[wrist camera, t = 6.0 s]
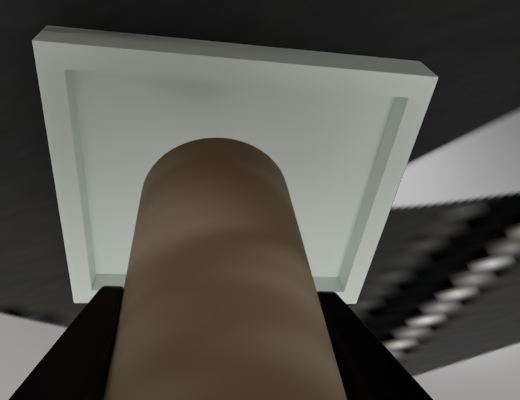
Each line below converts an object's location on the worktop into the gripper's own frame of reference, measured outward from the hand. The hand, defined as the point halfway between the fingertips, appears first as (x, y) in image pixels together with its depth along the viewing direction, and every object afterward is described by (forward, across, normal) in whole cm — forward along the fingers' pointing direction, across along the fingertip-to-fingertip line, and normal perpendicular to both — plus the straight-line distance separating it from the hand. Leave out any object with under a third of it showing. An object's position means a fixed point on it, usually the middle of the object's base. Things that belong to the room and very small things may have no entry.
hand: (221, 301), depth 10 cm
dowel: (+4, 0, 0) cm, 4 cm away
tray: (+13, -2, +5) cm, 14 cm away
